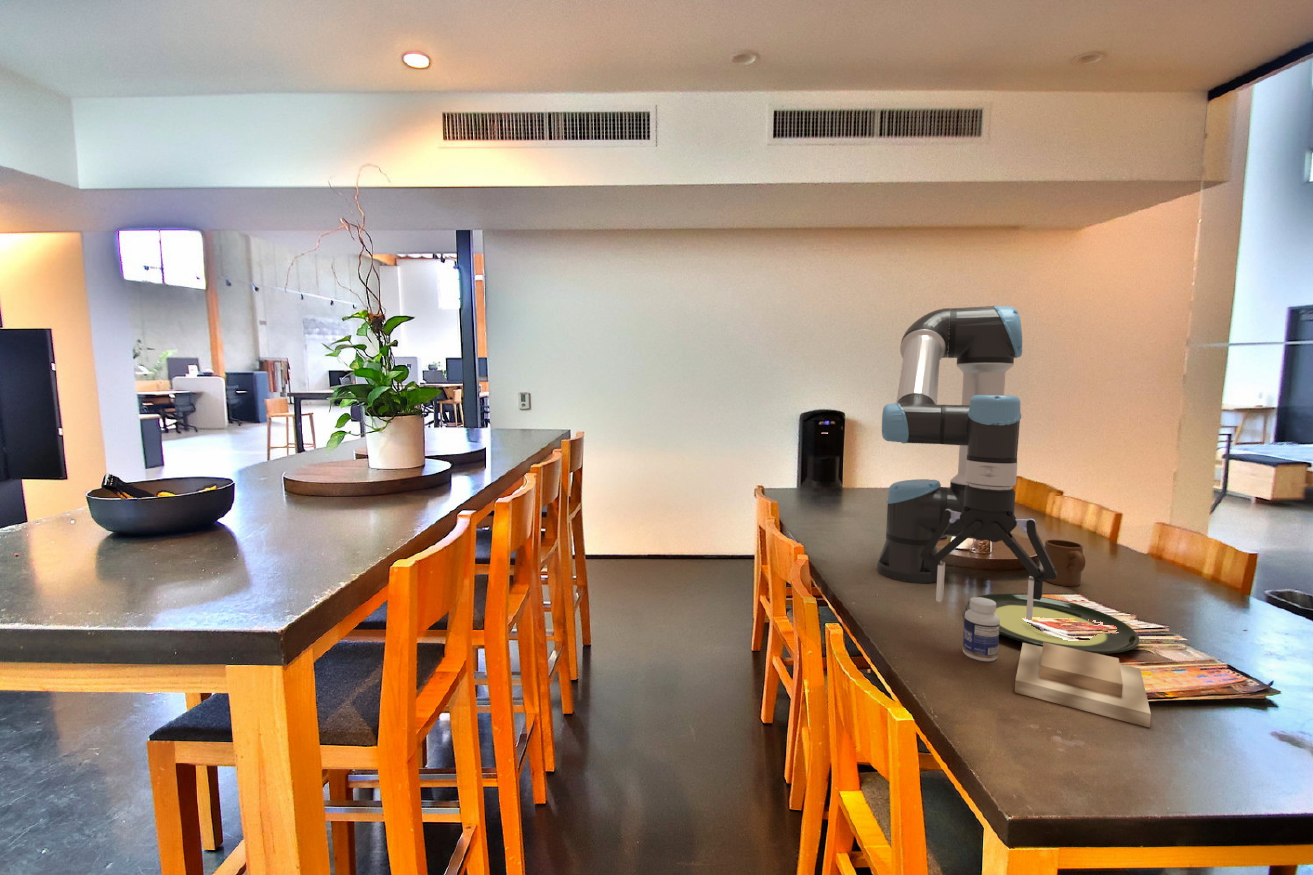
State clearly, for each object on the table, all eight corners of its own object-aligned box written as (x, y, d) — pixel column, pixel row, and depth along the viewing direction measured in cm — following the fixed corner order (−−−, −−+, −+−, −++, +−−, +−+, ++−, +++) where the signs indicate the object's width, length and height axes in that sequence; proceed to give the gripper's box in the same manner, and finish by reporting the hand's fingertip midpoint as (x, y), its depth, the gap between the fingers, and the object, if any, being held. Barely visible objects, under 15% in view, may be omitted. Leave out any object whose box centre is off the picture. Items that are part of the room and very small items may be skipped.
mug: (1099, 594, 133) (1102, 553, 132) (1062, 593, 134) (1065, 552, 133) (1069, 577, 145) (1072, 539, 144) (1036, 575, 146) (1038, 538, 145)
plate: (1084, 679, 96) (1085, 664, 96) (933, 617, 120) (934, 605, 120) (1169, 644, 109) (1170, 631, 108) (1017, 595, 133) (1018, 584, 133)
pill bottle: (960, 646, 107) (963, 593, 106) (994, 651, 105) (997, 597, 104) (964, 659, 102) (968, 604, 101) (1000, 664, 100) (1003, 608, 99)
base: (1014, 692, 91) (1016, 667, 91) (1022, 653, 104) (1023, 631, 104) (1149, 727, 82) (1152, 699, 81) (1139, 680, 95) (1141, 656, 94)
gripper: (906, 481, 105) (901, 598, 106) (1080, 497, 90) (1070, 632, 92) (916, 476, 111) (910, 587, 112) (1079, 491, 96) (1070, 618, 98)
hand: (982, 608), depth 102 cm, fingers open, 13 cm apart
